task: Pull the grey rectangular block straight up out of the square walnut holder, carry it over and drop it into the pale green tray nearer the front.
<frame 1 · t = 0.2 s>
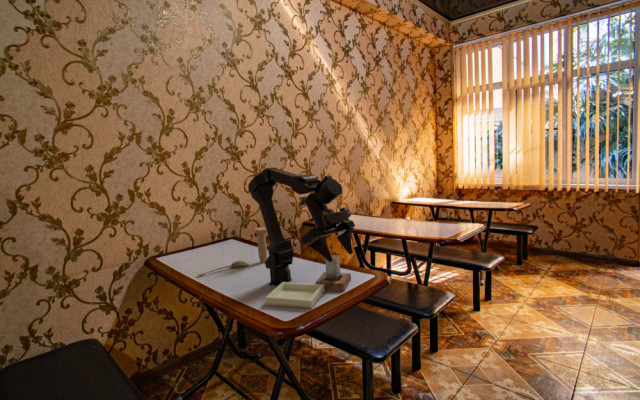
hand: (341, 257, 100), 15 cm above the table, tool tilted 30°, fingers open, 9 cm apart
grey rectangular block: (333, 270, 118), in the pin holder
pin holder: (333, 284, 119), on the table
tray: (296, 298, 109), on the table
handle: (263, 262, 150), on the table
soupspoon: (224, 271, 143), on the table
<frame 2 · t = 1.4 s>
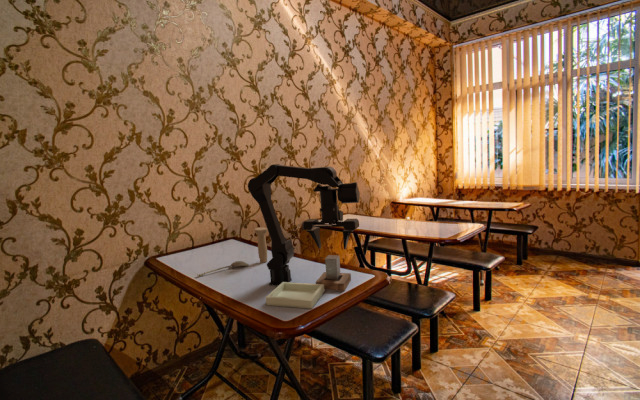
hand: (332, 248, 117), 13 cm above the table, tool pointing down, fingers open, 9 cm apart
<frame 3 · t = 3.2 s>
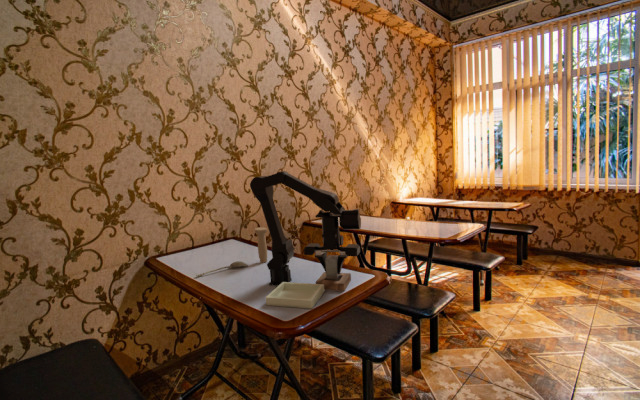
hand: (333, 273, 118), 4 cm above the table, tool pointing down, fingers closed on grey rectangular block, 4 cm apart
grey rectangular block: (333, 270, 118), in the pin holder, touching gripper
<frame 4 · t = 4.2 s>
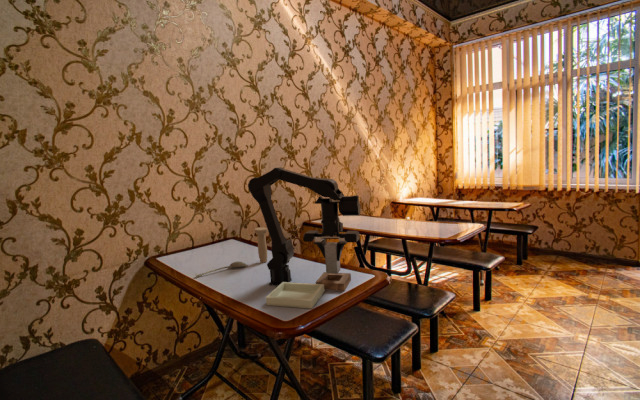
hand: (332, 260, 118), 9 cm above the table, tool pointing down, fingers closed on grey rectangular block, 4 cm apart
grey rectangular block: (332, 257, 118), point 10 cm above the table, touching gripper
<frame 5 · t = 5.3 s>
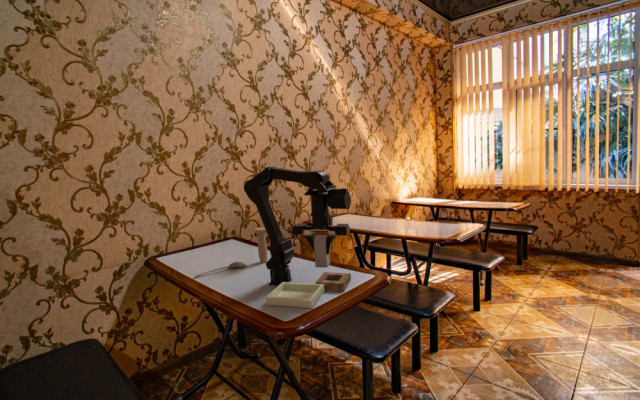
hand: (322, 254, 115), 12 cm above the table, tool pointing down, fingers closed on grey rectangular block, 4 cm apart
grey rectangular block: (322, 251, 115), point 13 cm above the table, touching gripper
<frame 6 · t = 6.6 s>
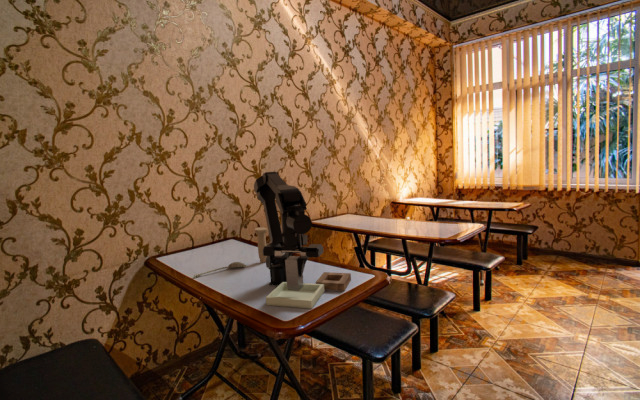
hand: (294, 276, 109), 7 cm above the table, tool pointing down, fingers closed on grey rectangular block, 4 cm apart
grey rectangular block: (294, 273, 108), point 8 cm above the table, touching gripper
when the fingers open (6 cm above the table, at t = 7.2 s): grey rectangular block drops 1 cm, resting on tray.
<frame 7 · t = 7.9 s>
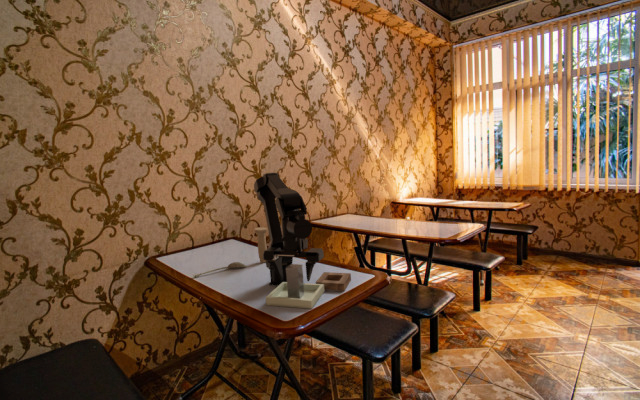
hand: (295, 280, 109), 6 cm above the table, tool pointing down, fingers open, 9 cm apart
grey rectangular block: (295, 281, 109), in the tray, point 6 cm above the table
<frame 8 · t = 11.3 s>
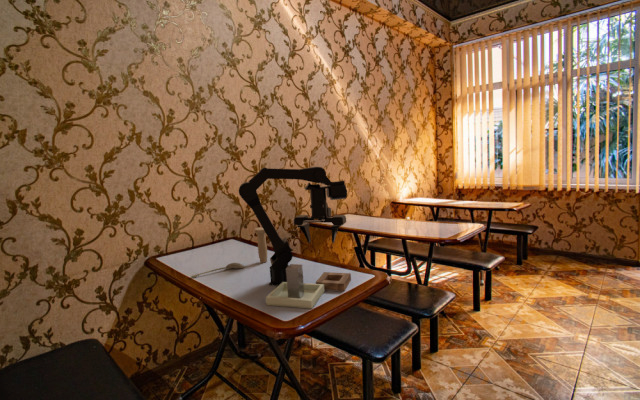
hand: (321, 242, 126), 13 cm above the table, tool pointing down, fingers open, 9 cm apart
at the end: grey rectangular block inside the target area on the tray (0.0 cm from its centre), point 5.6 cm above the tray's base; the gripper is holding nothing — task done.
